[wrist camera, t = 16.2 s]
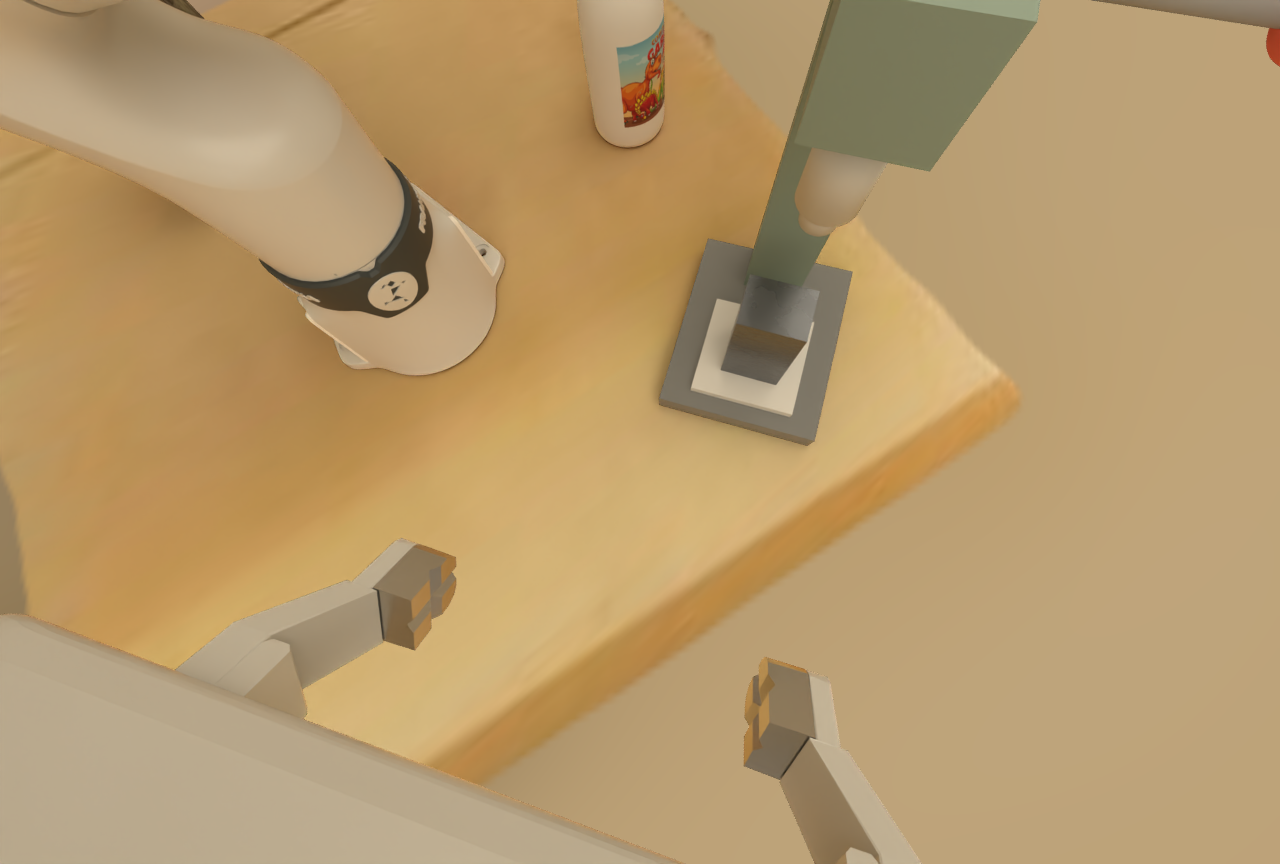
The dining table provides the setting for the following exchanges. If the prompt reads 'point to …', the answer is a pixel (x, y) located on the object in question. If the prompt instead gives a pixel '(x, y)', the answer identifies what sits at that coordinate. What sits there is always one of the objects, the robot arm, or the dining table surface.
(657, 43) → the milk bottle
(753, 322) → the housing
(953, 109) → the press
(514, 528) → the dining table surface
